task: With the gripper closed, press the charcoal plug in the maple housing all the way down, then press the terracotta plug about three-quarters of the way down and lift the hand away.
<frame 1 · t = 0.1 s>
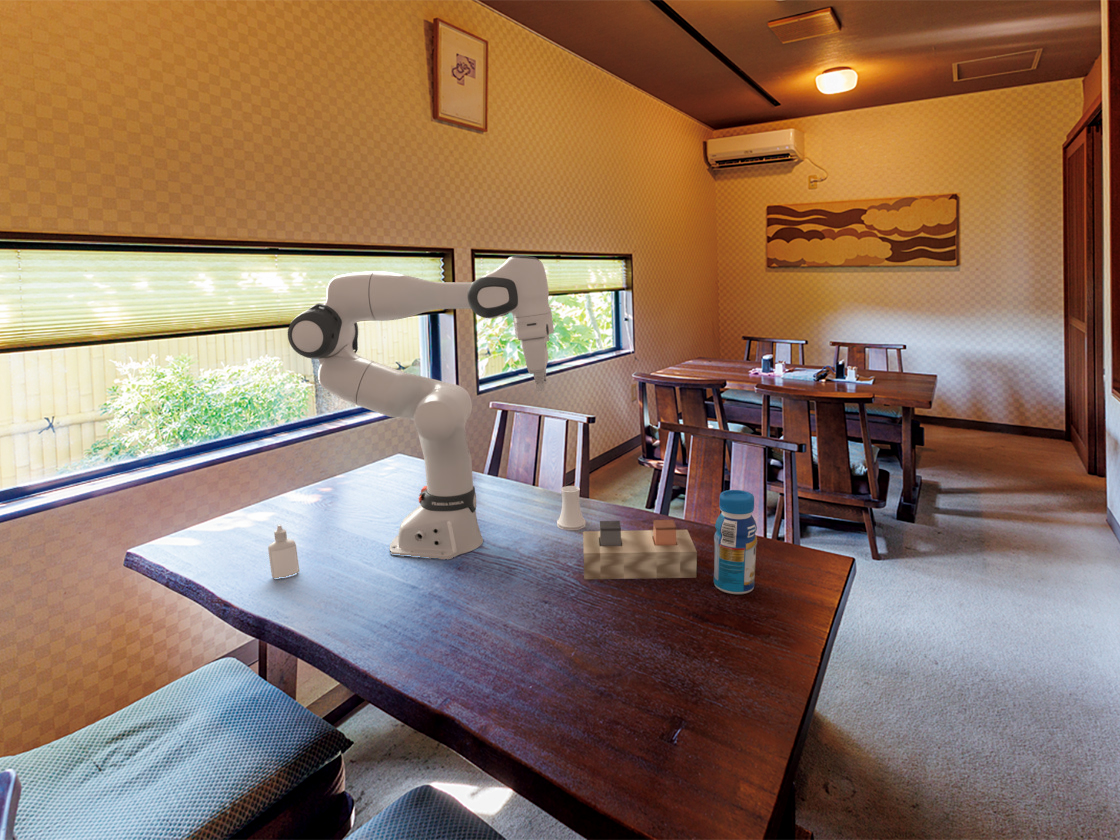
hand: (542, 386, 147), 39 cm above the table, tool pointing down, fingers open, 8 cm apart
charcoal plug: (610, 536, 140), point 7 cm above the table, slide at 0.0 cm
beverage bottle: (733, 586, 131), on the table
vase: (571, 525, 166), on the table
eye dropper bottle: (286, 576, 142), on the table
terracotta plug: (664, 535, 140), point 7 cm above the table, slide at 0.0 cm
maple housing: (637, 566, 142), on the table
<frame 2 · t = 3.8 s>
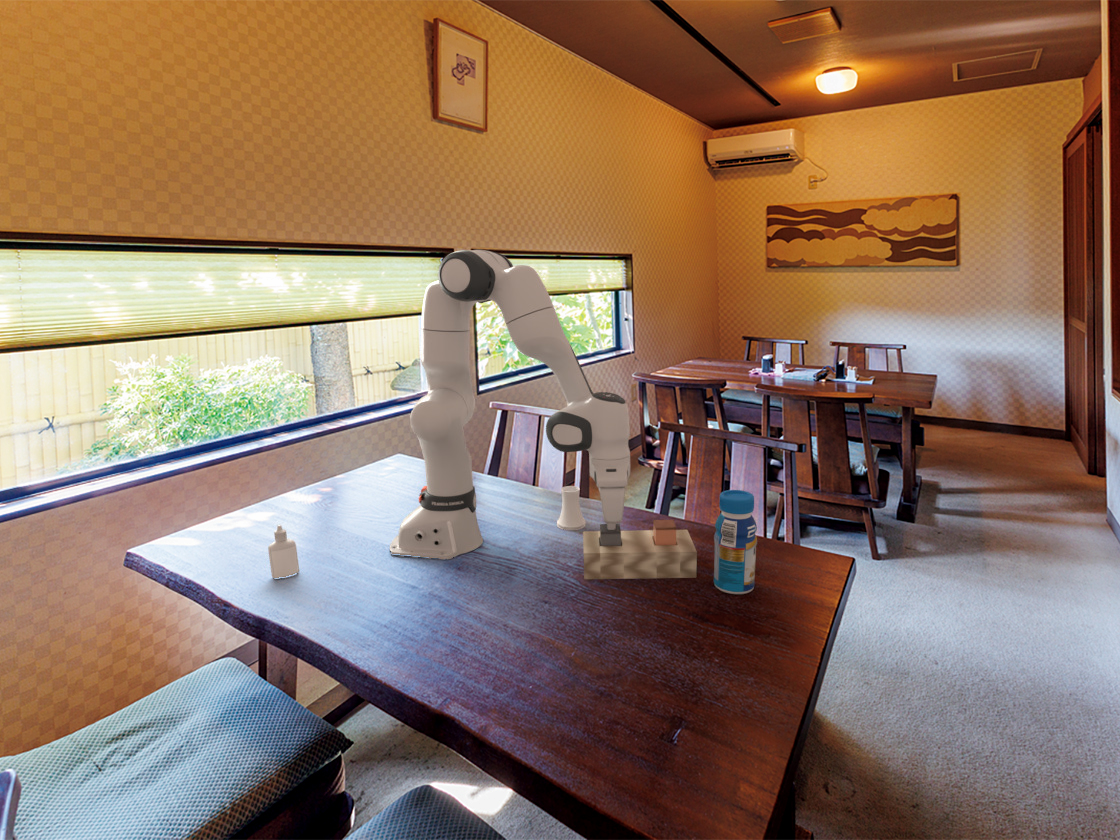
hand: (611, 527, 140), 9 cm above the table, tool pointing down, fingers closed, pressing on charcoal plug
charcoal plug: (610, 539, 140), point 7 cm above the table, slide at 0.7 cm, touching gripper
everything else where it was.
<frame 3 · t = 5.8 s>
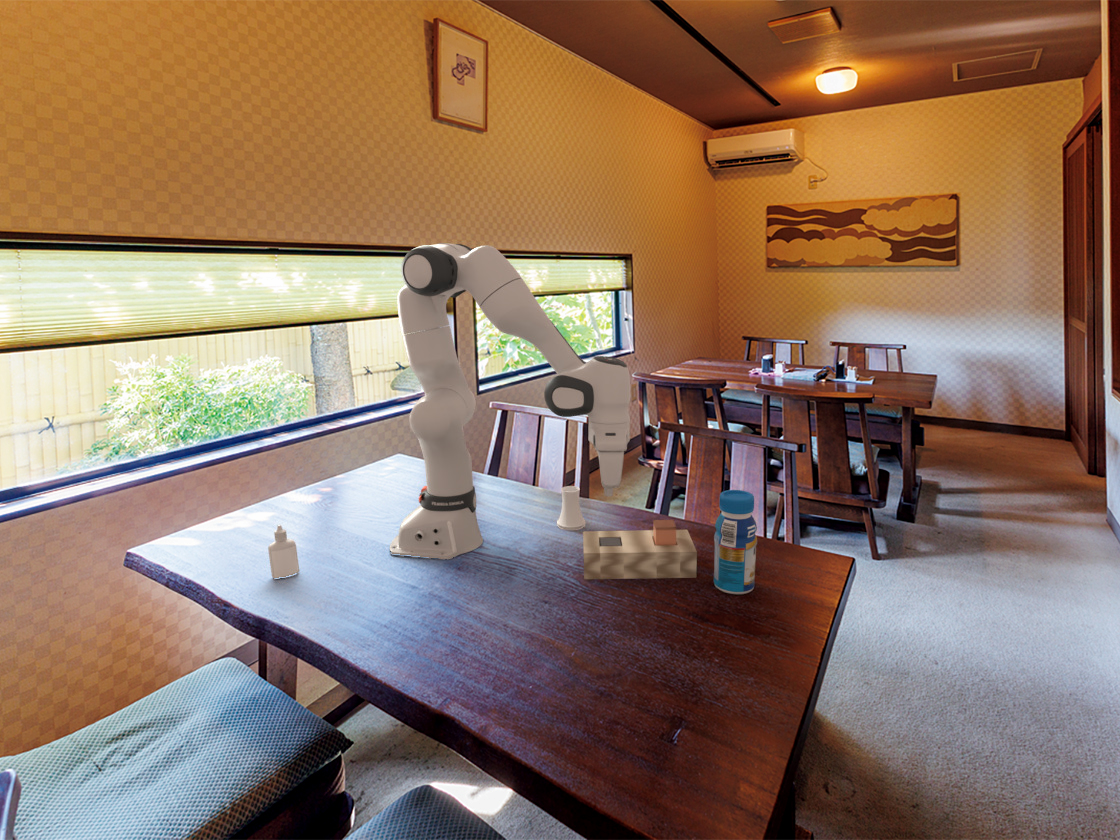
hand: (608, 494, 138), 17 cm above the table, tool pointing down, fingers closed
charcoal plug: (610, 553, 141), point 3 cm above the table, slide at 4.0 cm
everything else where it was.
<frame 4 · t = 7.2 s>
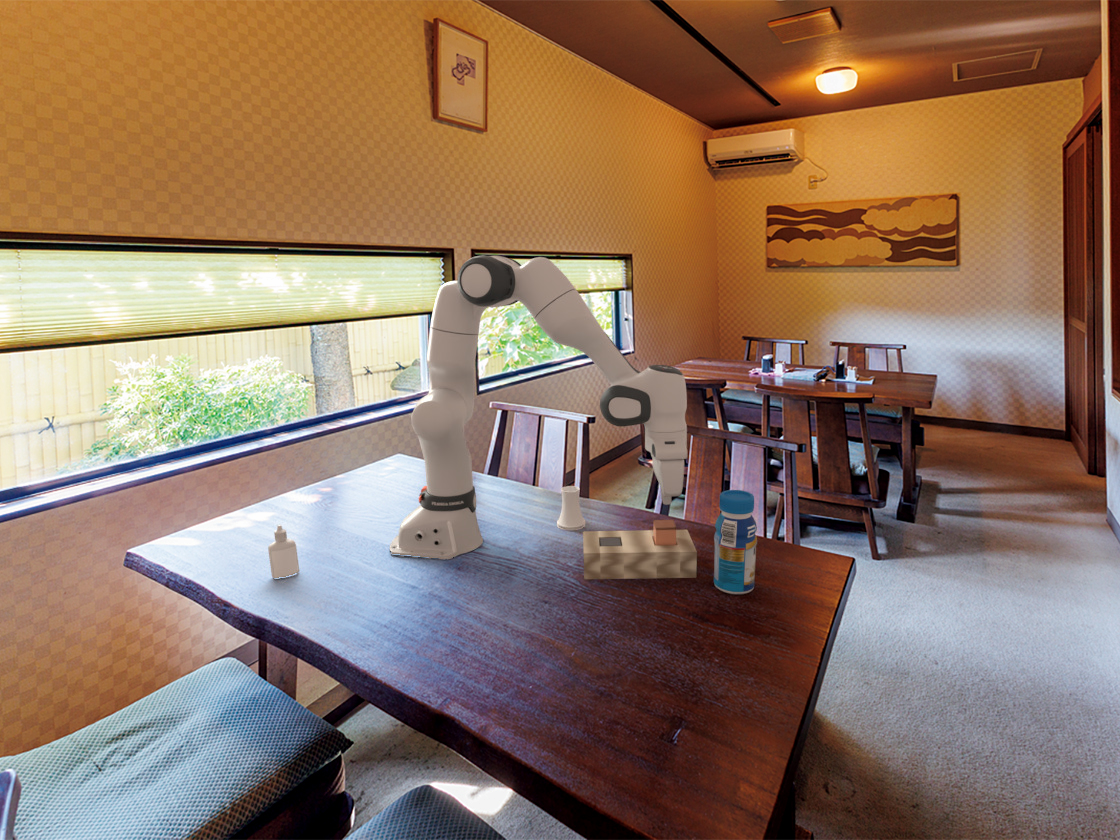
hand: (666, 502, 138), 15 cm above the table, tool pointing down, fingers closed
nothing on the table moved.
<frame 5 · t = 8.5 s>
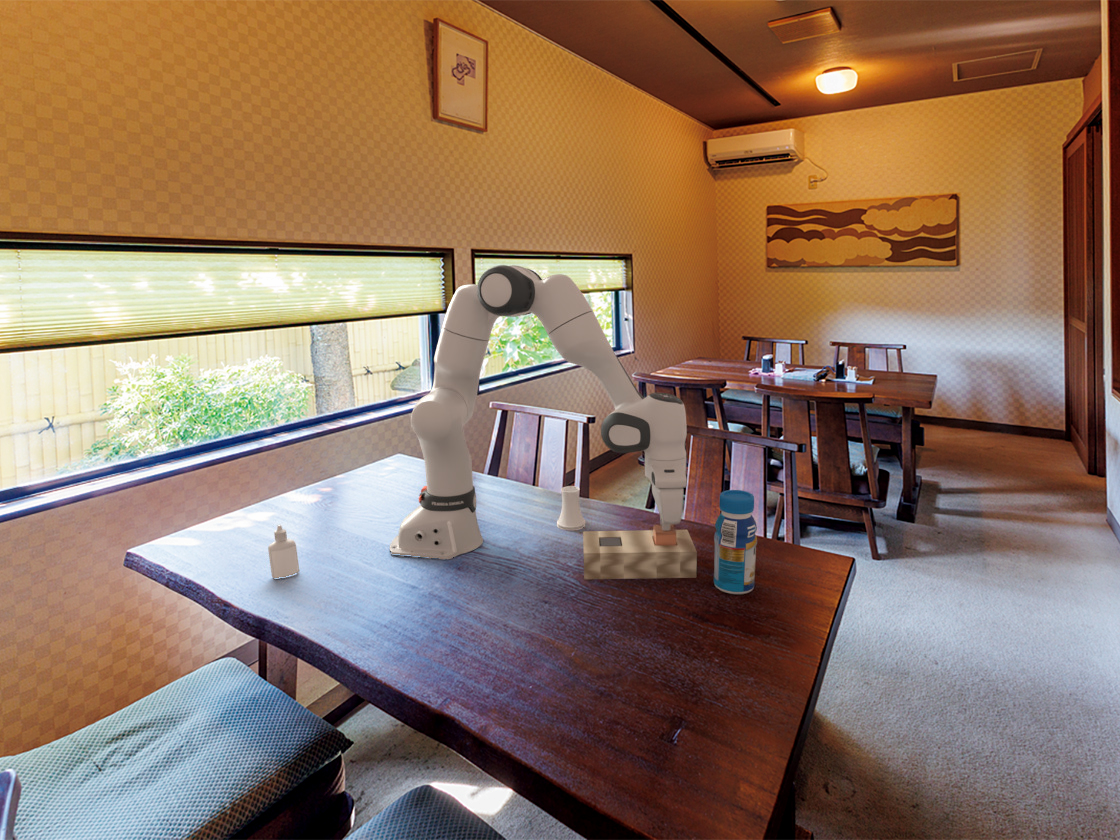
hand: (665, 528, 139), 9 cm above the table, tool pointing down, fingers closed, pressing on terracotta plug
terracotta plug: (664, 540, 140), point 6 cm above the table, slide at 1.1 cm, touching gripper
everything else where it was.
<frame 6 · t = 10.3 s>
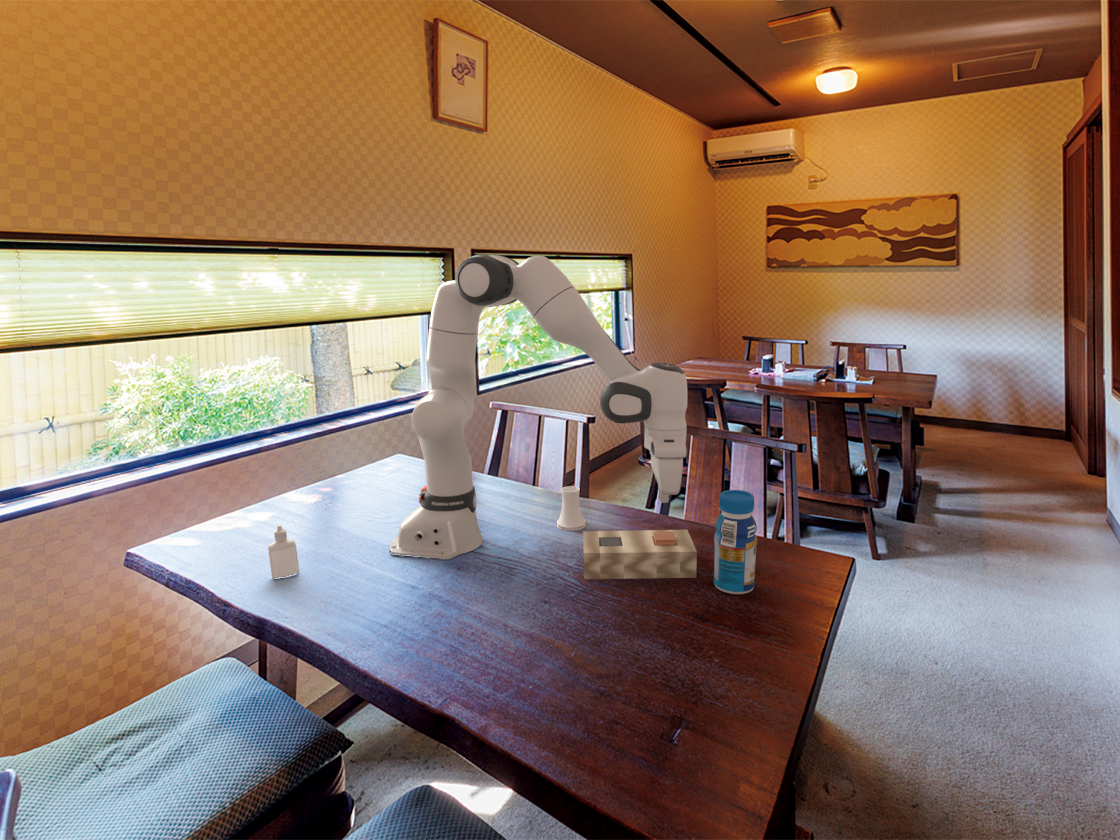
hand: (663, 500, 138), 15 cm above the table, tool pointing down, fingers closed
terracotta plug: (664, 547, 140), point 4 cm above the table, slide at 2.8 cm
everything else where it was.
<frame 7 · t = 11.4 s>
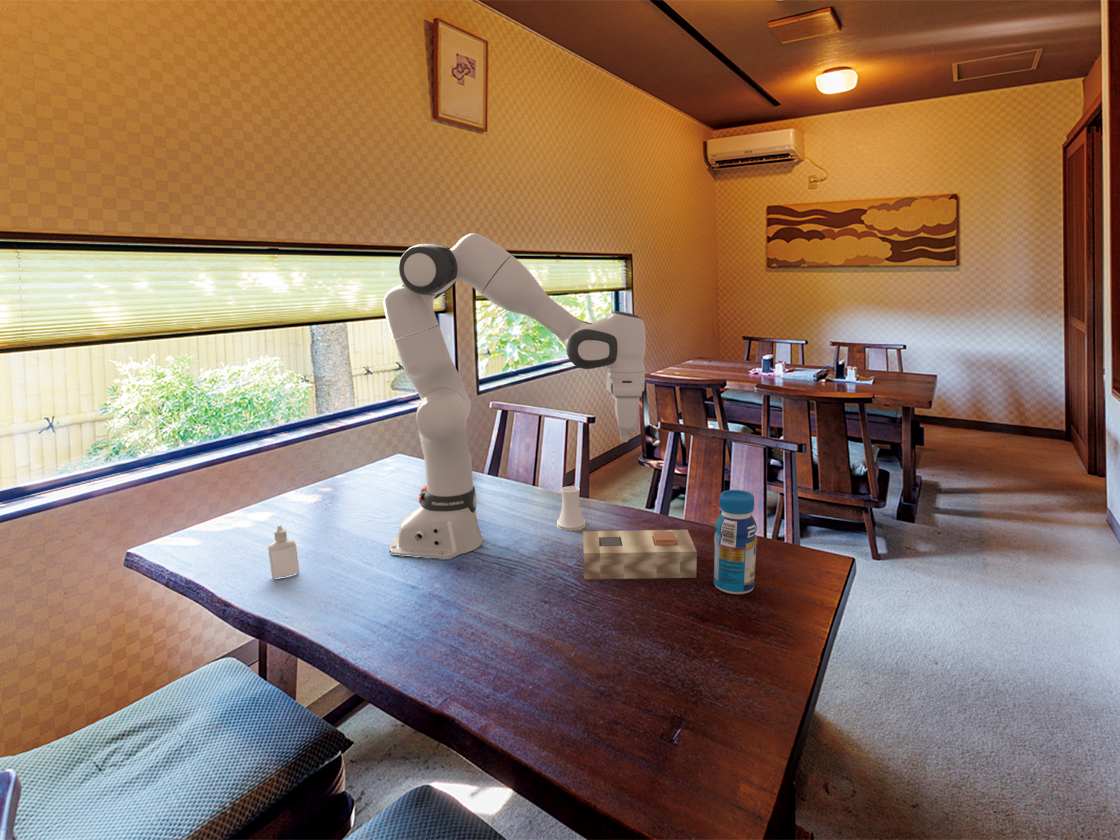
hand: (623, 440, 149), 26 cm above the table, tool pointing down, fingers closed
nothing on the table moved.
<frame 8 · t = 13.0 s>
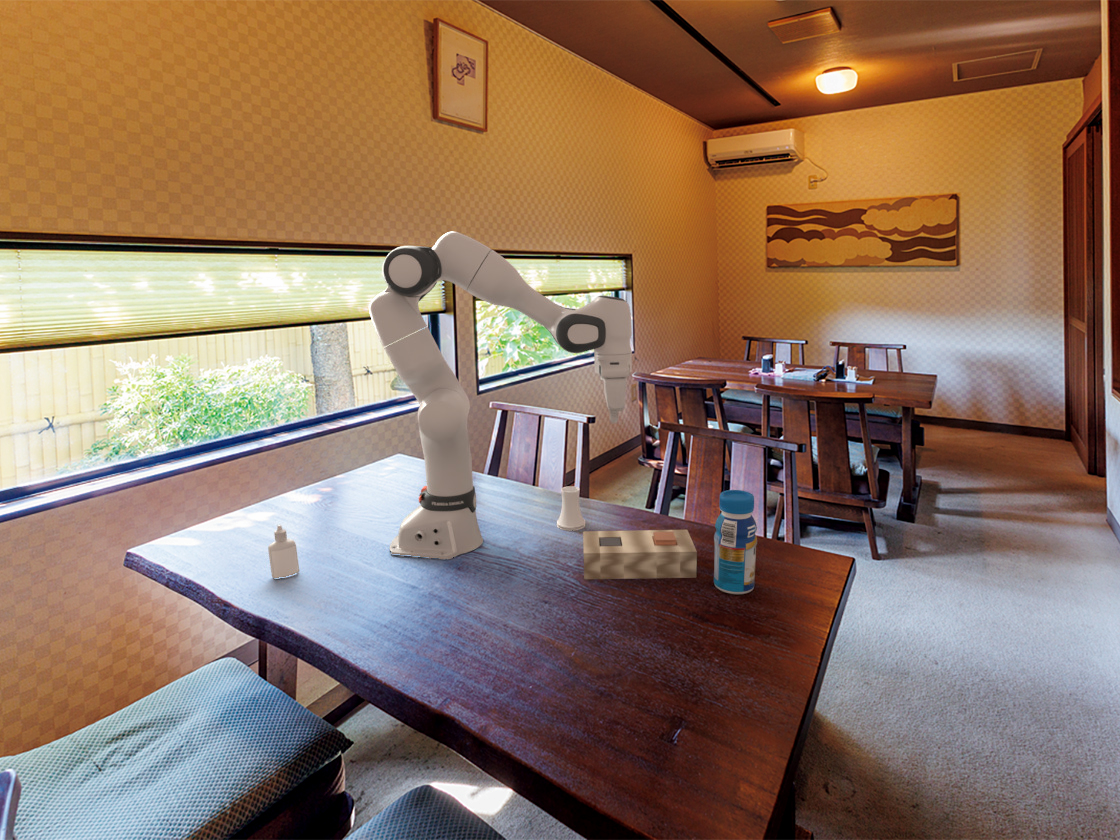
hand: (613, 422, 153), 29 cm above the table, tool pointing down, fingers closed
nothing on the table moved.
at the end: charcoal plug slide at 4.0 cm; terracotta plug slide at 2.8 cm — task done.
